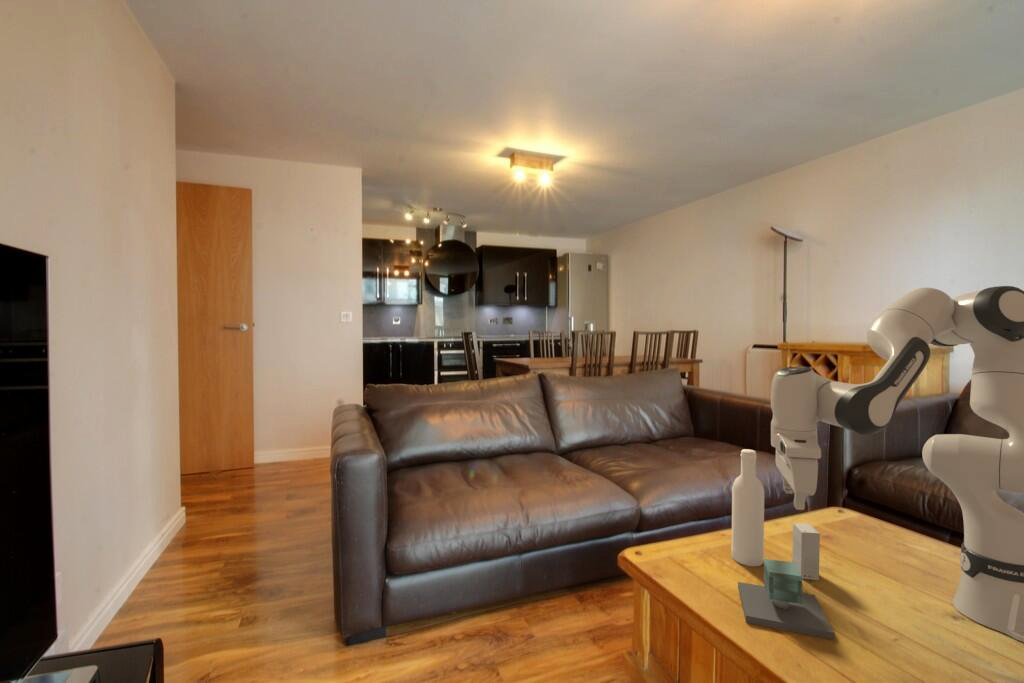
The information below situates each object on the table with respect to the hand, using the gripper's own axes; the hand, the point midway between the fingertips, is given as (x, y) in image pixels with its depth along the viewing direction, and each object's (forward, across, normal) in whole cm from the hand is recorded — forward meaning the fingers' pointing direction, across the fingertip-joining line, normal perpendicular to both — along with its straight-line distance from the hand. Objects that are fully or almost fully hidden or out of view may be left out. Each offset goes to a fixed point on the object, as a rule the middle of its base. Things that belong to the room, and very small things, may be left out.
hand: (793, 500), depth 103 cm
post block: (+24, +3, -3) cm, 25 cm away
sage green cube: (+20, +3, -3) cm, 21 cm away
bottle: (+25, -20, -7) cm, 33 cm away
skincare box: (+25, -17, +6) cm, 31 cm away
